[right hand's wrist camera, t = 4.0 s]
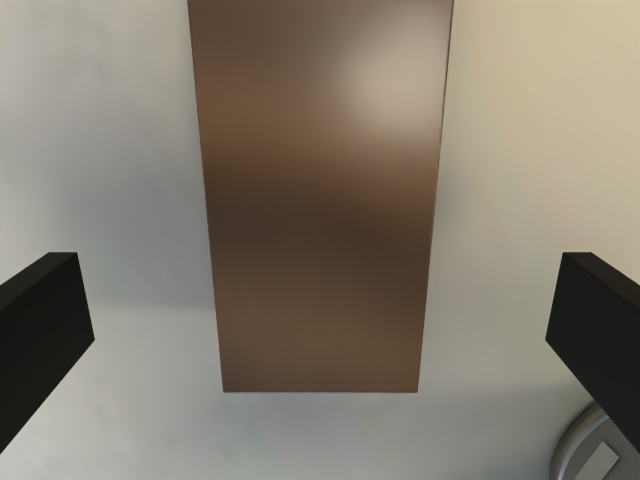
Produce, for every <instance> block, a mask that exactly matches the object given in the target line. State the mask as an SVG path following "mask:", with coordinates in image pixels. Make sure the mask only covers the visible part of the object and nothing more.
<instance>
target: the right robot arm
mask: <svg viewBox="0 0 640 480" xmlns="http://www.w3.org/2000/svg"><path fill="white" fill-rule="evenodd" d="M94 340H95V338H94V333H93V328H92V323H91V318H90V313H89V309H88V304H87V299H86V294H85V289H84V284H83V279H82V274H81V269H80V264H79V259H78V255H77V252H49V253H47V254H46V255H44V256H43V257H41V258H40V259H38V260H37V261H35V262H34V263H32V264H31V265H29V266H28V267H26V268H25V269H24V270H22V271H21V272H19V273H18V274H16V275H15V276H13V277H12V278H10V279H9V280H7V281H6V282H4V283H3V284H2V285H0V454H1V453H2V452H3V450H4V449H5V448H6V447H7V446H8V444H9V443H10V442H11V441H12V440H13V438H14V437H15V436H16V435H17V434H18V432H19V431H20V430H21V429H22V427H23V426H24V425H25V424H26V423H27V421H28V420H29V419H30V418H31V417H32V415H33V414H34V413H35V412H36V411H37V409H38V408H39V407H40V406H41V404H42V403H43V402H44V401H45V400H46V398H47V397H48V396H49V395H50V394H51V392H52V391H53V390H54V389H55V388H56V386H57V385H58V384H59V383H60V382H61V380H62V379H63V378H64V377H65V375H66V374H67V373H68V372H69V371H70V369H71V368H72V367H73V366H74V365H75V363H76V362H77V361H78V360H79V359H80V357H81V356H82V355H83V354H84V352H85V351H86V350H87V349H88V348H89V346H90V345H91V344H92V343H93V342H94ZM545 340H546V342H547V343H548V344H549V345H550V346H551V348H552V349H553V350H554V351H555V352H556V354H557V355H558V356H559V357H560V359H561V360H562V361H563V362H564V363H565V365H566V366H567V367H568V368H569V369H570V371H571V372H572V373H573V374H574V375H575V377H576V378H577V379H578V380H579V382H580V383H581V384H582V385H583V386H584V388H585V389H586V390H587V391H588V392H589V394H590V395H591V396H592V397H593V398H594V400H595V401H596V402H597V403H596V404H594V405H593V406H592V407H590V408H589V409H588V410H587V411H585V412H584V413H583V414H582V415H581V416H580V417H579V418H578V419H577V420H576V421H575V422H574V423H573V425H572V426H571V427H570V428H569V429H568V431H567V432H566V433H565V435H564V436H563V438H562V440H561V441H560V443H559V445H558V447H557V449H556V451H555V454H554V457H553V460H552V465H551V470H550V480H640V285H638V284H637V283H636V282H634V281H633V280H631V279H630V278H628V277H627V276H625V275H624V274H622V273H621V272H619V271H618V270H616V269H615V268H614V267H612V266H611V265H609V264H608V263H606V262H605V261H603V260H602V259H600V258H599V257H597V256H596V255H594V254H593V253H591V252H563V255H562V259H561V264H560V269H559V274H558V279H557V284H556V289H555V294H554V299H553V304H552V308H551V313H550V318H549V323H548V328H547V333H546V338H545Z"/></svg>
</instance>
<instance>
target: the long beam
mask: <svg viewBox="0 0 640 480" xmlns="http://www.w3.org/2000/svg"><path fill="white" fill-rule="evenodd" d="M187 3H188V14H189V25H190V36H191V46H192V57H193V68H194V79H195V90H196V101H197V112H198V123H199V134H200V145H201V155H202V166H203V177H204V188H205V199H206V210H207V221H208V232H209V243H210V254H211V265H212V275H213V286H214V297H215V308H216V319H217V330H218V341H219V352H220V363H221V374H222V384H223V392H224V393H417V392H418V383H419V372H420V361H421V350H422V340H423V329H424V318H425V307H426V297H427V286H428V275H429V264H430V254H431V243H432V232H433V221H434V211H435V200H436V189H437V178H438V168H439V157H440V146H441V135H442V125H443V114H444V103H445V92H446V82H447V71H448V60H449V49H450V39H451V28H452V17H453V6H454V0H187Z"/></svg>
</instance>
